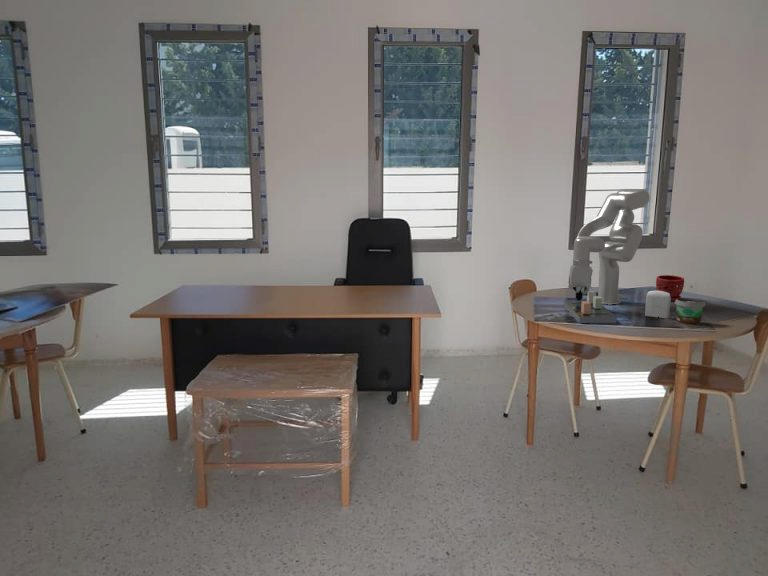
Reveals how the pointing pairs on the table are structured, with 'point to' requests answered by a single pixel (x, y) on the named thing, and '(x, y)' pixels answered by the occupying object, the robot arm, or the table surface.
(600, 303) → the slider sage
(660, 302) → the photo printer
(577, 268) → the robot arm
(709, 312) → the table surface
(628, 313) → the table surface
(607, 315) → the grey slotted slider board
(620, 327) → the table surface
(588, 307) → the slider terracotta
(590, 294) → the slider ivory
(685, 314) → the food container
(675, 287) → the plant pot
